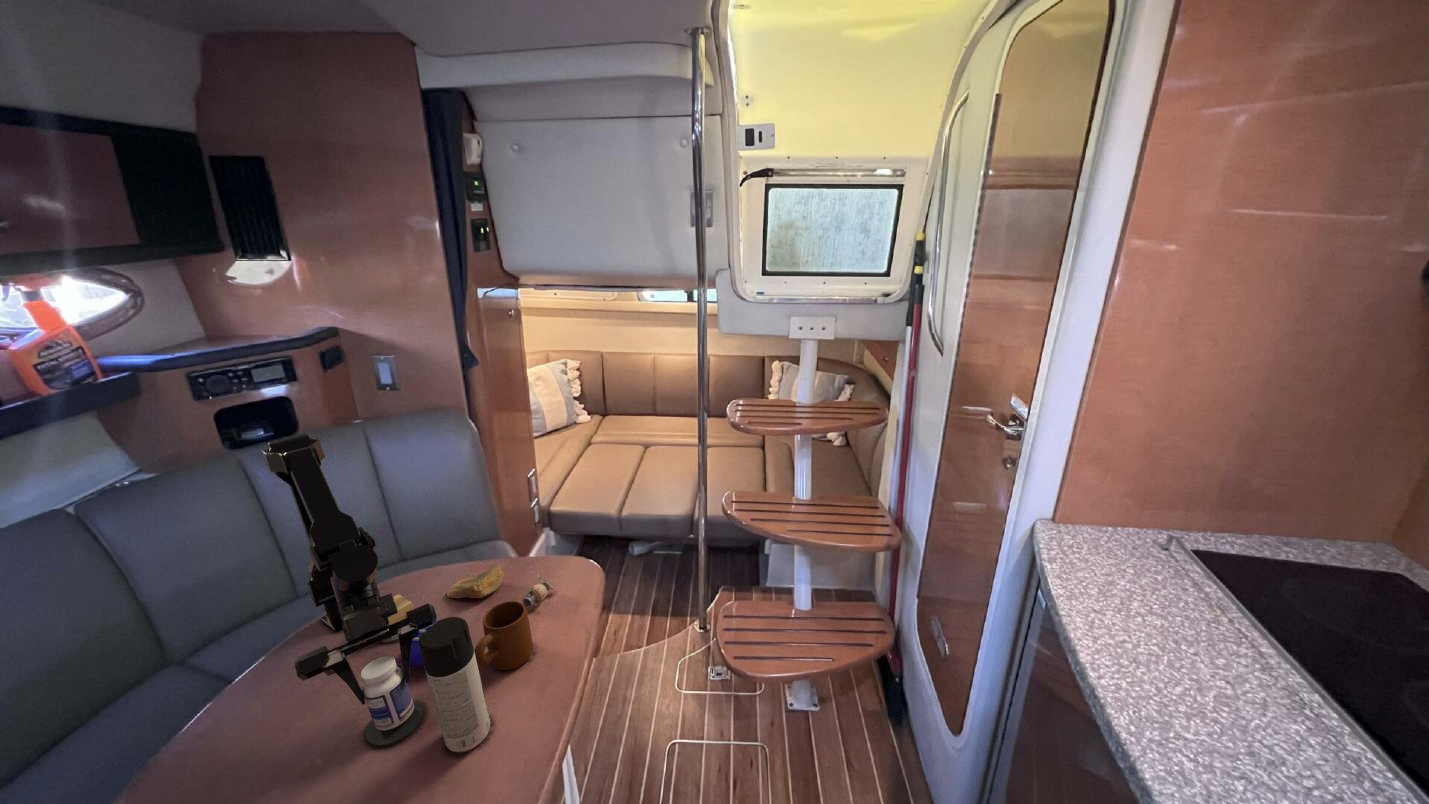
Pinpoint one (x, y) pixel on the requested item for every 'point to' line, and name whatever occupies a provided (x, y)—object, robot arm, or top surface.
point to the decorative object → (416, 650)
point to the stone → (478, 584)
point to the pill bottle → (386, 693)
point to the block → (400, 609)
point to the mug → (505, 636)
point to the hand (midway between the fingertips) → (386, 693)
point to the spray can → (455, 683)
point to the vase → (537, 593)
